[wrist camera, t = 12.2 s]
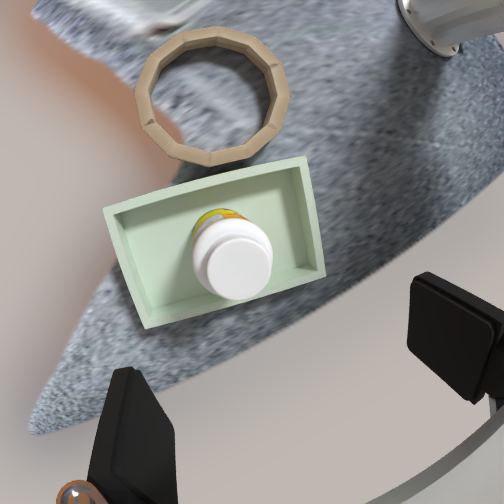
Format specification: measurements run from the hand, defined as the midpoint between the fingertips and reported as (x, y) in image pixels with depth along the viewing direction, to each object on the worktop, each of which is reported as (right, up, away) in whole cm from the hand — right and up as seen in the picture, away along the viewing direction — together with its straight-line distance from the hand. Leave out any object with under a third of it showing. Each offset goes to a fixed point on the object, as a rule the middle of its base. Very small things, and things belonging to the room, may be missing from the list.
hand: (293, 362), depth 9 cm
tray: (-5, +5, +19) cm, 20 cm away
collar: (-5, +18, +15) cm, 24 cm away
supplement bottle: (-4, +5, +19) cm, 20 cm away
